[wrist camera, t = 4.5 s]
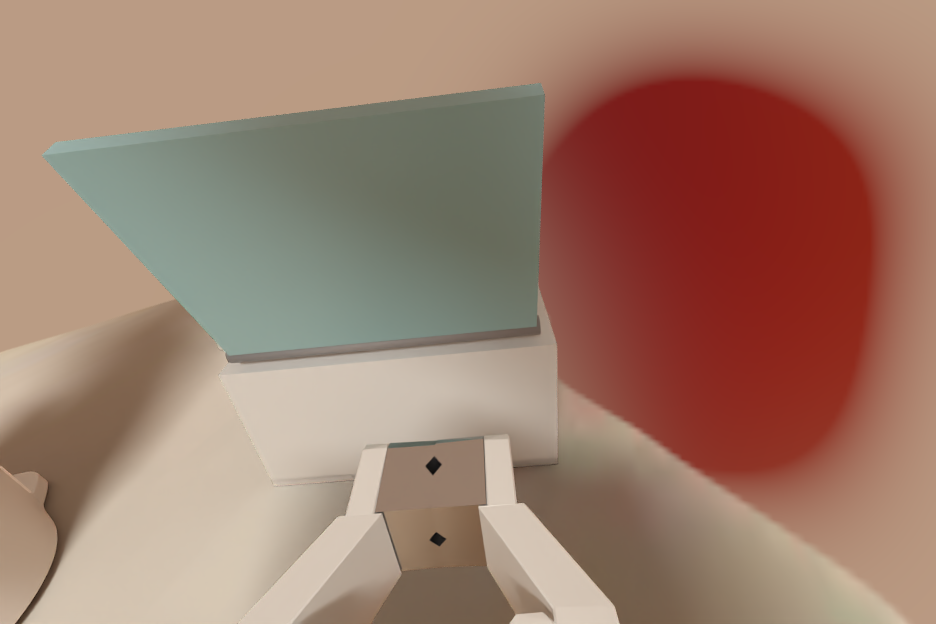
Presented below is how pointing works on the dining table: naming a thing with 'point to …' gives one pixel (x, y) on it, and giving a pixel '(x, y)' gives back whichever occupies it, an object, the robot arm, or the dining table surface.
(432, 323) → the cover
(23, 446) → the dining table surface
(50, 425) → the dining table surface
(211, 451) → the dining table surface
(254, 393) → the white box
